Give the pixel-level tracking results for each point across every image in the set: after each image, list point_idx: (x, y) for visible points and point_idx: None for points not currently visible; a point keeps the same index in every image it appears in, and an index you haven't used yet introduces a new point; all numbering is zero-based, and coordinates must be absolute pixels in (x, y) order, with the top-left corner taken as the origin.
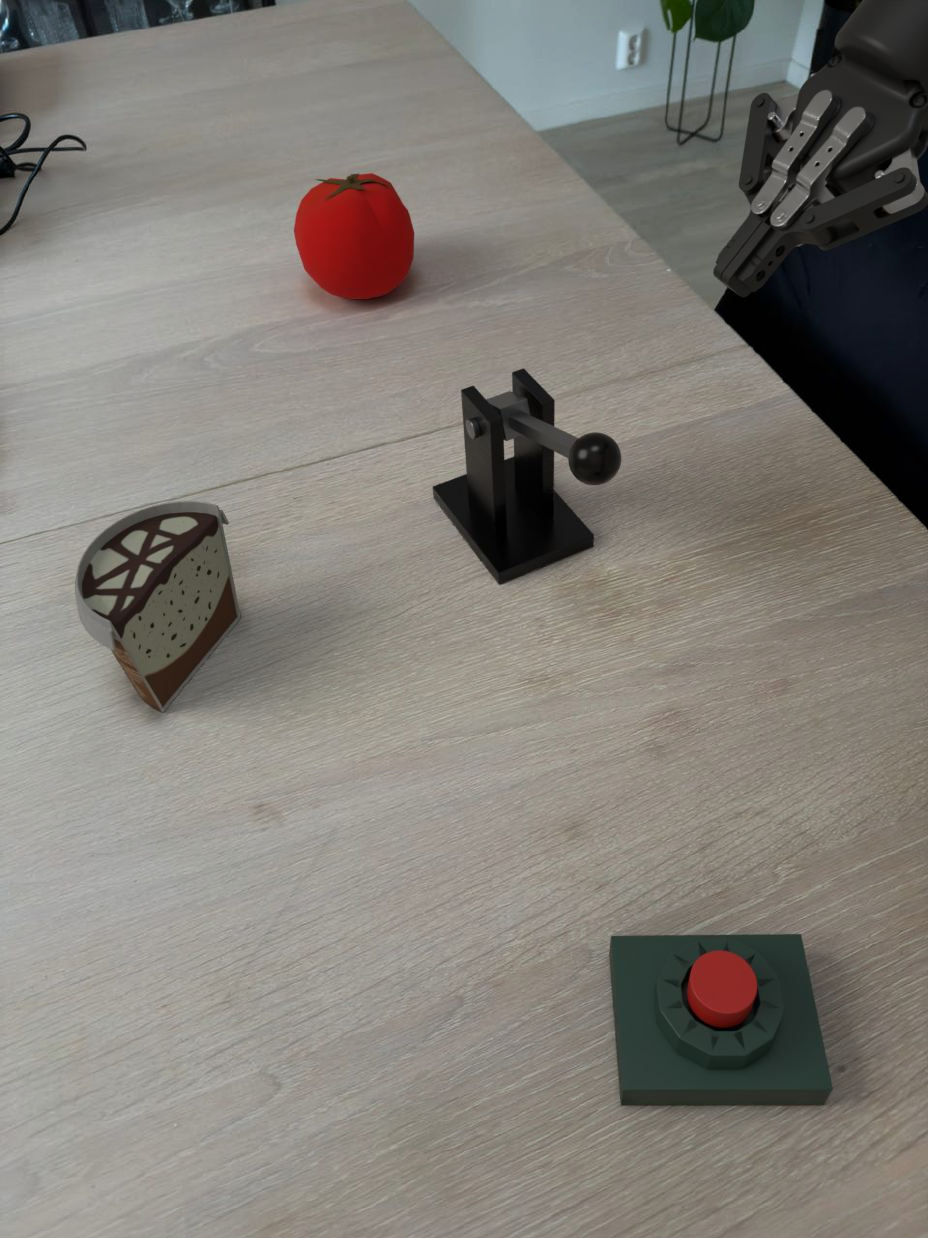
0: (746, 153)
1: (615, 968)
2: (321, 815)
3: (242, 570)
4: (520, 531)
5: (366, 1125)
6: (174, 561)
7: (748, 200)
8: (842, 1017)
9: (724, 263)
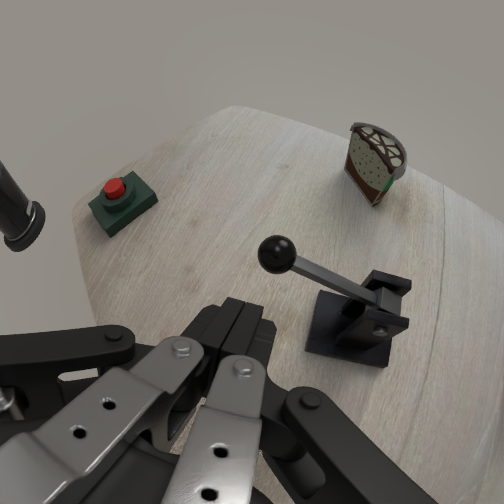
0: (366, 445)
1: (148, 187)
2: (269, 175)
3: (395, 222)
4: (337, 320)
5: (187, 143)
6: (376, 150)
7: (287, 391)
8: (93, 232)
9: (250, 308)
